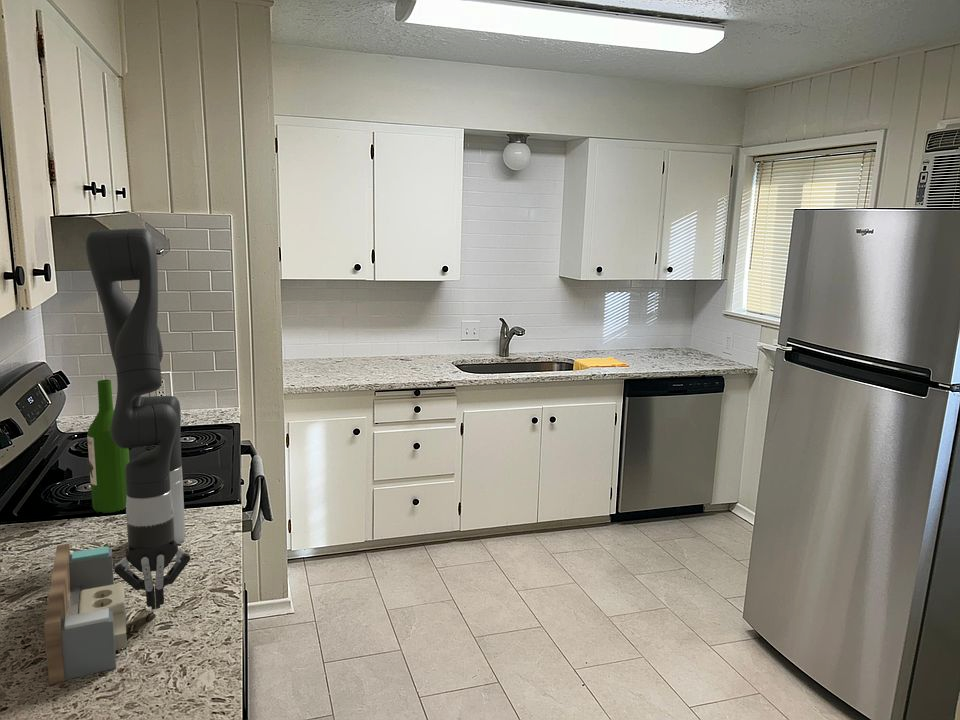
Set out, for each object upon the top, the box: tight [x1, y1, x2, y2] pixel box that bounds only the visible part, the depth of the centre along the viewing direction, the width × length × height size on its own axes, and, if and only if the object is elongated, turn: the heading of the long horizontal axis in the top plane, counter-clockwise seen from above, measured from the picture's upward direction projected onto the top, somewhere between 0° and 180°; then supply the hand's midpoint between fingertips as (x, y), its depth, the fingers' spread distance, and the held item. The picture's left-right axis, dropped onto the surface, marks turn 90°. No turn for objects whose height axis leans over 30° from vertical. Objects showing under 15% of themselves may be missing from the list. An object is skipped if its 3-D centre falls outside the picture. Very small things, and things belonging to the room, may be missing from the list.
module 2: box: [61, 608, 117, 681], centre depth 111 cm, size 4×7×9 cm, turn 118°
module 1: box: [69, 545, 115, 591], centre depth 134 cm, size 4×7×9 cm, turn 118°
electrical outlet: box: [78, 582, 128, 652], centre depth 123 cm, size 7×4×18 cm
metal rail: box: [68, 584, 80, 616], centre depth 122 cm, size 22×2×4 cm, turn 27°
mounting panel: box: [43, 543, 71, 686], centre depth 120 cm, size 31×2×10 cm, turn 28°
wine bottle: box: [86, 379, 131, 514], centre depth 176 cm, size 9×9×32 cm
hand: (155, 607), depth 128 cm, fingers closed
